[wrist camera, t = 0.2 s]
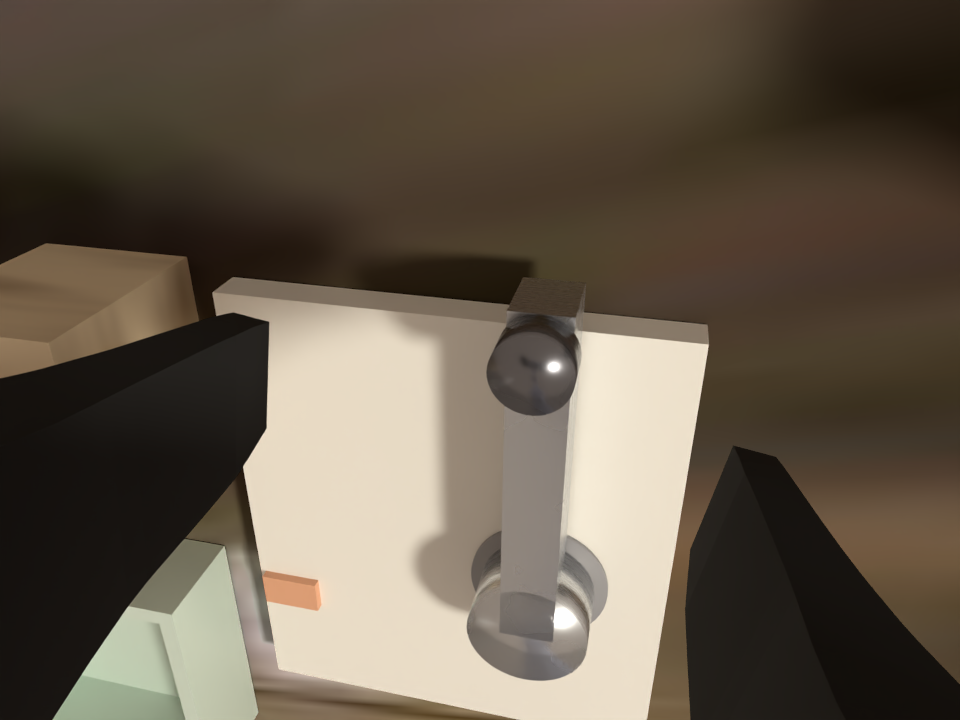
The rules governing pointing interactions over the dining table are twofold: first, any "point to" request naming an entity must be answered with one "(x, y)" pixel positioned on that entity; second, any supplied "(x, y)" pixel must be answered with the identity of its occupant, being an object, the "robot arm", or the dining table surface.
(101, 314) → the block
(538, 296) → the crank arm
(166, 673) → the tray
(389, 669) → the crank board
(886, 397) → the dining table surface
